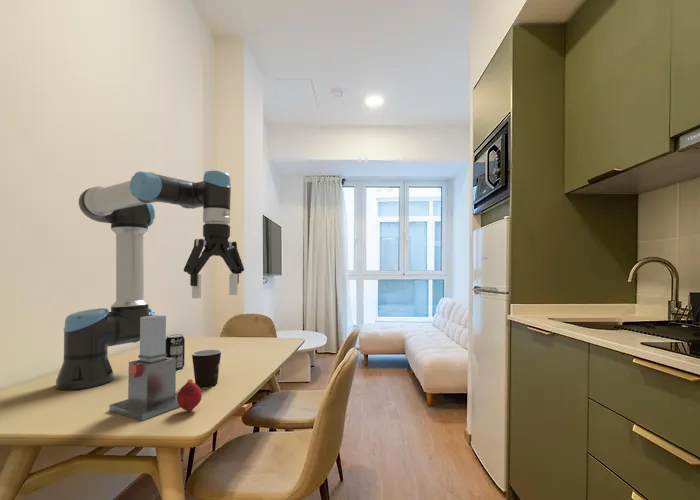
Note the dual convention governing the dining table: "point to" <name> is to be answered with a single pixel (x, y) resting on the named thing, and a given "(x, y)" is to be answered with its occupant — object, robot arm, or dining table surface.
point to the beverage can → (176, 349)
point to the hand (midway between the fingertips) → (215, 296)
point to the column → (152, 339)
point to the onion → (189, 396)
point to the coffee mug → (206, 367)
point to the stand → (149, 390)
